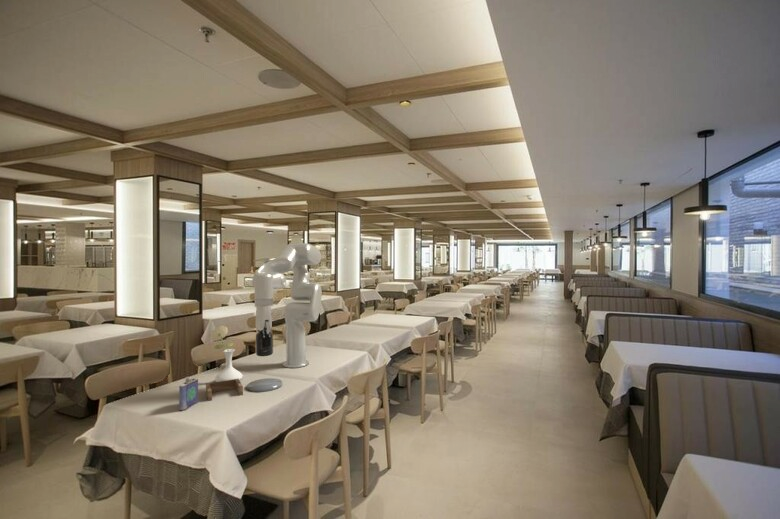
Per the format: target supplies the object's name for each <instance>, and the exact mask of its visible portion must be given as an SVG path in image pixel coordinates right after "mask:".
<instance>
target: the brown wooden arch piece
mask: <svg viewBox="0 0 780 519" xmlns="http://www.w3.org/2000/svg"><path fill="white" fill-rule="evenodd" d="M233 388H234V389H237V390H236V391H237V394H238V395H239V396H243V395H244V390H243V389H244V386H243V384H242V382H241V380H239V379H233V380H226V381H220V382H216V381H214V382H208V383H205V394H206V398H207V400H208V402H210V401H213V394H212V393H216V392H221V391H228V390H233ZM227 389H228V390H227Z"/></svg>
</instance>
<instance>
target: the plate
mask: <svg viewBox="0 0 780 519" xmlns="http://www.w3.org/2000/svg"><path fill="white" fill-rule="evenodd" d="M282 386H283V381H282V380H281V379H279V378H275V377H274V378H260V379H256V380H253V381H250V382H248V384H246V387H247V388H246V389H247V390H248V391H249V390H250V391H249V392H252V391H253V392H255V393H265V392H272V391H274V390H278V389H279V388H281V387H282Z"/></svg>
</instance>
